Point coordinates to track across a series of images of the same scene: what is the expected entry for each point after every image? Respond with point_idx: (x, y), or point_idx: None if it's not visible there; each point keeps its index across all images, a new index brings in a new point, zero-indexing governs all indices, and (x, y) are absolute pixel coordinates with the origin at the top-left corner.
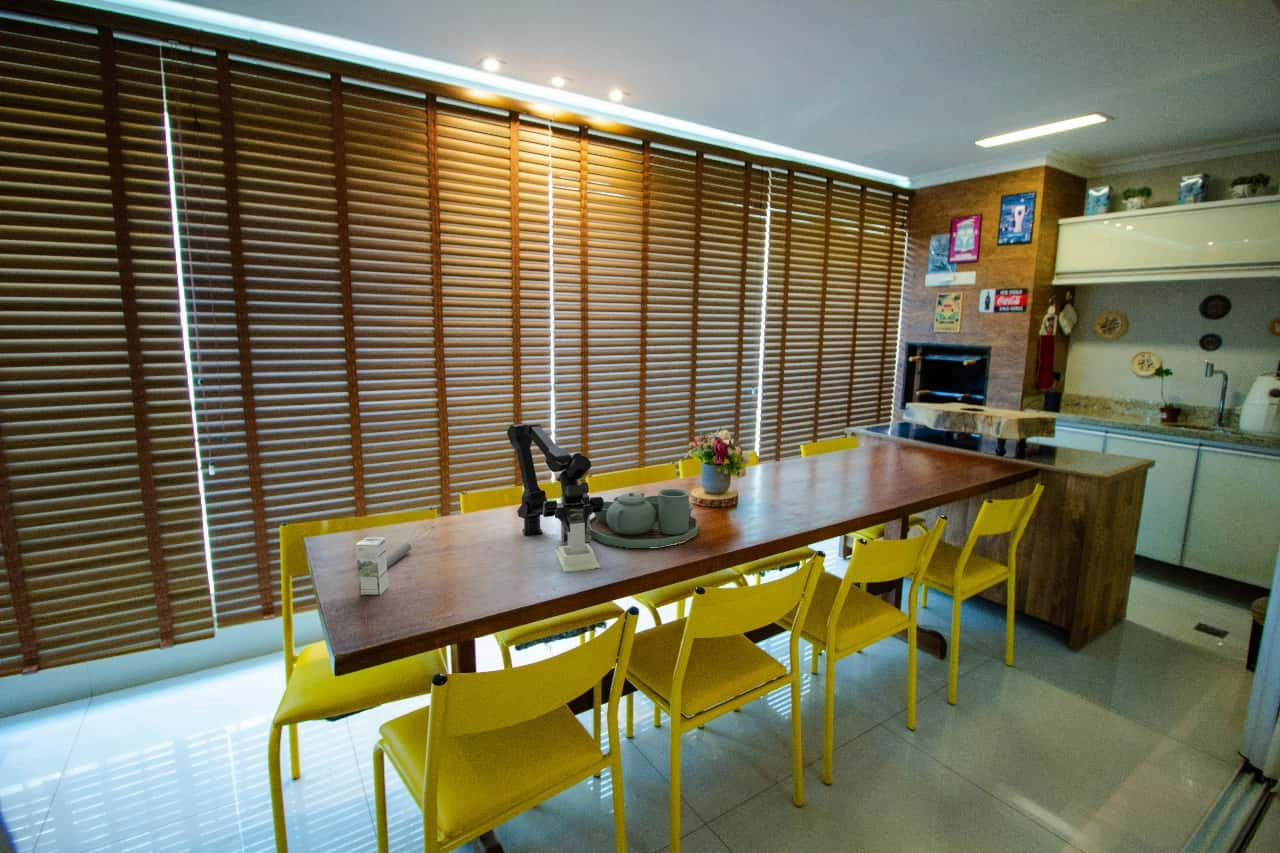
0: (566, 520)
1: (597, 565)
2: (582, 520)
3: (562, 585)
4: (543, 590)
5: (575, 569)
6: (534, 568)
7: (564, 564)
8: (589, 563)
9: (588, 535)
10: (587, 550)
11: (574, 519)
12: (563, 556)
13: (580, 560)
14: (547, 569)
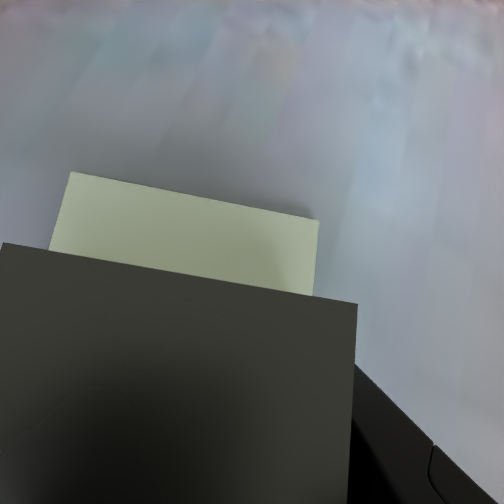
0: (401, 440)
1: (84, 195)
2: (64, 254)
3: (364, 82)
4: (457, 80)
5: (247, 207)
6: (471, 381)
7: None
8: (119, 255)
9: None
10: None
11: (228, 373)
12: None
13: None
14: (398, 325)
